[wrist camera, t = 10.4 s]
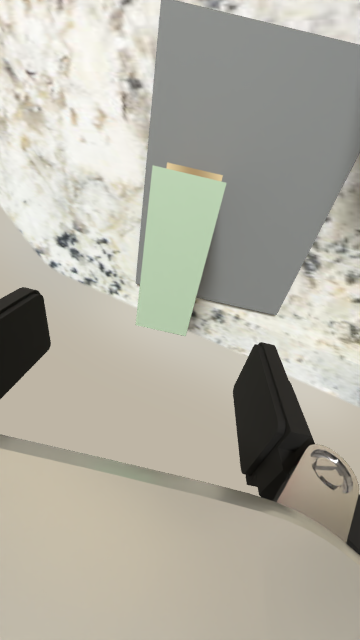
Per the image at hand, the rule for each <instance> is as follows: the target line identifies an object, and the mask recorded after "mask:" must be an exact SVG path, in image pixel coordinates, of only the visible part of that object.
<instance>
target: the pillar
mask: <svg viewBox="0 0 360 640" xmlns="http://www.w3.org/2000/svg"><path fill="white" fill-rule="evenodd" d="M166 169H171V170H175V171H179V172H183V173H187V174H192V175H196V176H200V177H204V178H209V179H213V180H217V181H222V177H223V175H219V174H215V173H211V172H206V171H202V170H198V169H193V168H189V167H185V166H181V165H176V164H172V163H168V162H167V168H166Z"/></svg>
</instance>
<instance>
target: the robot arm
mask: <svg viewBox="0 0 360 640" xmlns="http://www.w3.org/2000/svg"><path fill="white" fill-rule="evenodd" d="M50 344H51V342H50V336H49V330H48V324H47V318H46V311H45V305H44V299H43V296H42V295H40V293H39V291H37V290H33V289H29V288H24V287H22V288H19V289H18V290H16V291H14V292H12V293H10V294H9V295H7V296H5V297H3V298H1V299H0V399H1V398H2V397H3V396H4V395H5V394H6V393H7V392H8V391H9V390H10V389H11V388H12V387H13V386H14V385H15V383H17V382H18V381H19V380H20V379H21V377H23V376H24V374H25V373H26V372H27V371H28V370H29V369H30V368H31V367H32V366H33V365H34V364H35V363H36V362H37V361H38V360H39V359H40V358H41V357H42V356H43V355H44V354H45V353H46V352H47V350H49V348H50ZM233 397H234V407H235V416H236V426H237V436H238V445H239V455H240V464H241V471H242V473H243V474H246V481H247V485H251V486H256V487H258V491H259V495H260V496H261V497H258V496H255V495H252V494H249V493H245V492H241V491H237V490H233V489H229V488H225V487H221V486H217V485H214V484H210V483H206V482H202V481H198V480H193V479H189V478H185V477H181V476H177V475H173V474H169V473H164V472H160V471H155V470H151V469H147V468H143V467H139V466H135V465H130V464H126V463H122V462H118V461H113V460H109V459H105V458H100V457H96V456H92V455H88V454H83V453H79V452H75V451H70V450H66V449H61V448H57V447H53V446H48V445H44V444H40V443H35V442H31V441H27V440H22V439H18V438H14V437H9V436H5V435H0V640H360V495H359V484H358V481H357V478H356V476H355V474H354V472H353V471H352V469H351V468H350V466H349V465H348V464H347V463H346V461H345V460H344V459H343V458H342V457H340V456H339V455H338V454H337V453H336V452H334V451H333V450H331V449H330V448H328V447H325V446H323V445H317V444H315V443H314V440H313V438H312V435H311V433H310V430H309V428H308V425H307V423H306V420H305V418H304V415H303V413H302V410H301V408H300V405H299V403H298V401H297V398H296V395H295V393H294V390H293V388H292V385H291V383H290V381H289V380H288V378H287V375H286V373H285V370H284V367H283V365H282V362H281V360H280V357H279V355H278V352H277V350H276V347H275V346H274V345H271V344H266V343H262V342H261V343H259V344H258V345H254V347H253V348H252V350H251V353H250V355H249V357H248V359H247V361H246V363H245V365H244V367H243V369H242V371H241V373H240V375H239V377H238V379H237V381H236V383H235V385H234V389H233Z"/></svg>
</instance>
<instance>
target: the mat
mask: <svg viewBox="0 0 360 640" xmlns="http://www.w3.org/2000/svg"><path fill="white" fill-rule="evenodd" d="M359 153H360V45H358V44H354V43H350V42H346V41H342V40H338V39H333V38H329V37H325V36H321V35H317V34H313V33H309V32H304V31H300V30H296V29H292V28H288V27H284V26H280V25H275V24H271V23H267V22H263V21H259V20H255V19H251V18H246V17H242V16H238V15H234V14H230V13H226V12H222V11H217V10H213V9H209V8H205V7H201V6H197V5H193V4H188V3H184V2H180V1H176V0H161V7H160V18H159V30H158V41H157V52H156V63H155V74H154V85H153V96H152V108H151V119H150V130H149V141H148V152H147V163H146V174H145V185H144V197H143V208H142V219H141V230H140V241H139V252H138V263H137V275H136V284H140V280H141V270H142V261H143V251H144V242H145V232H146V223H147V213H148V204H149V194H150V185H151V176H152V166H153V165H154V166H158V167H162V168H167V162H168V163H172V164H176V165H181V166H185V167H189V168H193V169H198V170H202V171H206V172H211V173H215V174H219V175H223V177H222V181H221V182H225V183H226V187H225V191H224V195H223V198H222V202H221V206H220V209H219V213H218V217H217V221H216V224H215V228H214V232H213V236H212V239H211V243H210V247H209V251H208V254H207V258H206V262H205V266H204V269H203V273H202V277H201V281H200V284H199V288H198V292H197V296H196V297H197V298H202V299H206V300H211V301H215V302H220V303H224V304H228V305H233V306H237V307H242V308H246V309H251V310H255V311H259V312H264V313H268V314H273V315H277V313H278V311H279V309H280V307H281V305H282V303H283V301H284V299H285V297H286V295H287V294H288V292H289V290H290V288H291V286H292V284H293V282H294V280H295V278H296V276H297V274H298V272H299V270H300V268H301V266H302V264H303V262H304V260H305V258H306V257H307V255H308V253H309V251H310V249H311V247H312V245H313V243H314V241H315V239H316V237H317V235H318V233H319V231H320V229H321V227H322V225H323V223H324V221H325V220H326V218H327V216H328V214H329V212H330V210H331V208H332V206H333V204H334V202H335V200H336V198H337V196H338V194H339V192H340V190H341V188H342V186H343V184H344V182H345V181H346V179H347V177H348V175H349V173H350V171H351V169H352V167H353V165H354V163H355V161H356V159H357V157H358V155H359Z"/></svg>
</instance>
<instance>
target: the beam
mask: <svg viewBox="0 0 360 640" xmlns="http://www.w3.org/2000/svg"><path fill="white" fill-rule="evenodd" d="M225 187H226V183H225V182H221V181H217V180H213V179H209V178H204V177H200V176H196V175H192V174H187V173H183V172H179V171H175V170H171V169H166V168H162V167H158V166H154V165H153V166H152V176H151V185H150V194H149V204H148V213H147V223H146V232H145V242H144V251H143V261H142V270H141V280H140V289H139V299H138V308H137V318H136V325H138V326H143V327H147V328H152V329H156V330H160V331H165V332H169V333H173V334H178V335H183V336H186V333H187V329H188V326H189V322H190V318H191V314H192V311H193V307H194V303H195V299H196V296H197V292H198V288H199V284H200V281H201V277H202V273H203V269H204V266H205V262H206V258H207V254H208V251H209V247H210V243H211V239H212V236H213V232H214V228H215V224H216V221H217V217H218V213H219V209H220V206H221V202H222V198H223V195H224V191H225Z"/></svg>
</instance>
